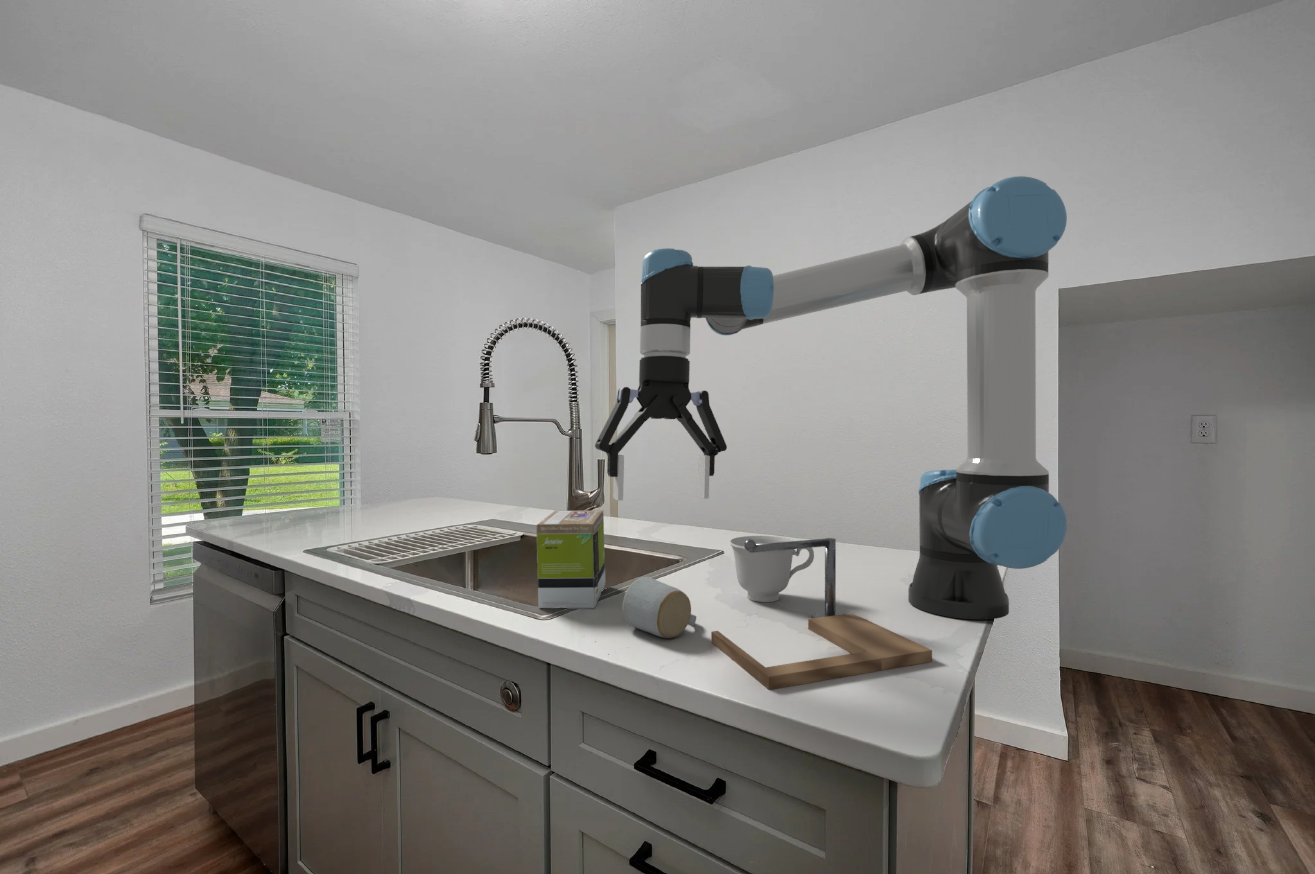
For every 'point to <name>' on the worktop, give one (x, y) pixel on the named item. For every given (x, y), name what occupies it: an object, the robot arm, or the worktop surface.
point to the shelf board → (849, 632)
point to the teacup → (765, 568)
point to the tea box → (570, 559)
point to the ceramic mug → (657, 608)
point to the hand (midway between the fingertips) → (661, 498)
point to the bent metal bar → (829, 564)
